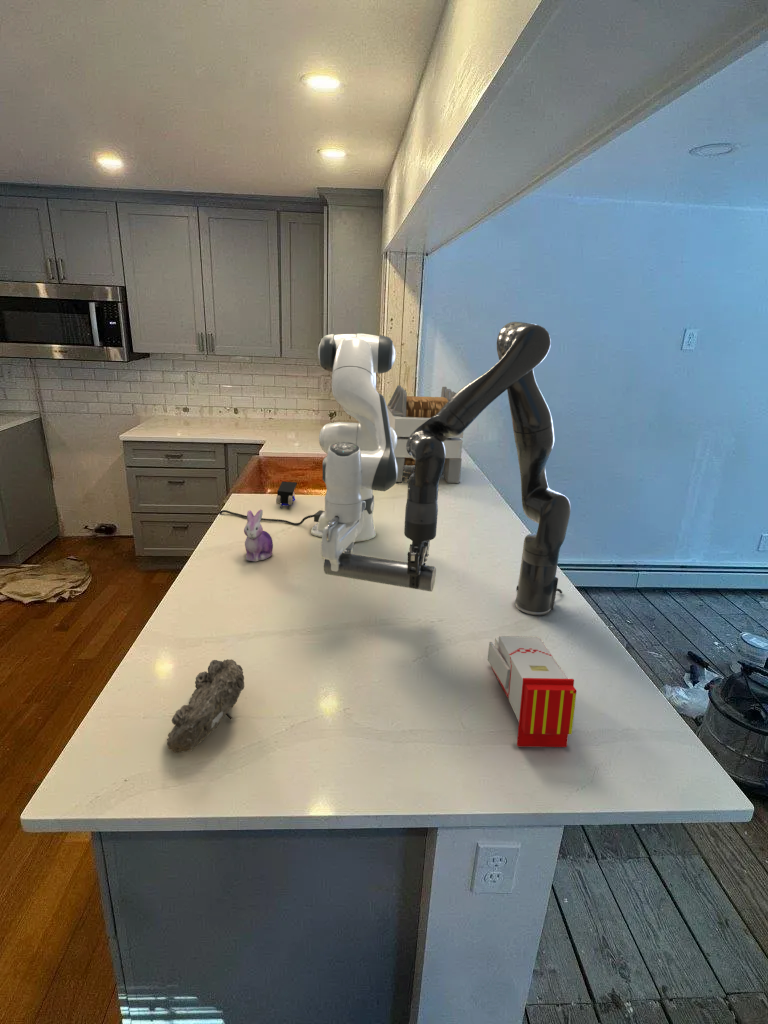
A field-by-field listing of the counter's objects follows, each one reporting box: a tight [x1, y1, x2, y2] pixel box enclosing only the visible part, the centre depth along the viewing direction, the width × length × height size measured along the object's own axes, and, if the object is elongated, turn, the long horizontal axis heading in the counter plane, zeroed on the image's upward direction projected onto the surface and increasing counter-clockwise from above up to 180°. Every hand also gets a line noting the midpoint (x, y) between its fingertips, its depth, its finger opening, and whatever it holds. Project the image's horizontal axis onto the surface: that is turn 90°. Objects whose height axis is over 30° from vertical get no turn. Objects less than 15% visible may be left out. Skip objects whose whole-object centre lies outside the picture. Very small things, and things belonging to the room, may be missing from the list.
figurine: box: [243, 508, 274, 562], centre depth 175 cm, size 9×10×15 cm
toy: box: [486, 635, 577, 748], centre depth 115 cm, size 12×13×30 cm
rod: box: [323, 552, 437, 592], centre depth 140 cm, size 27×6×6 cm, turn 74°
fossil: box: [166, 658, 245, 754], centre depth 106 cm, size 22×10×15 cm
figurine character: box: [275, 480, 298, 509], centre depth 223 cm, size 7×8×15 cm
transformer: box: [386, 384, 465, 484], centre depth 268 cm, size 34×33×41 cm
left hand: (342, 562), depth 142 cm, fingers open, 8 cm apart
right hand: (417, 581), depth 138 cm, fingers closed on rod, 6 cm apart
